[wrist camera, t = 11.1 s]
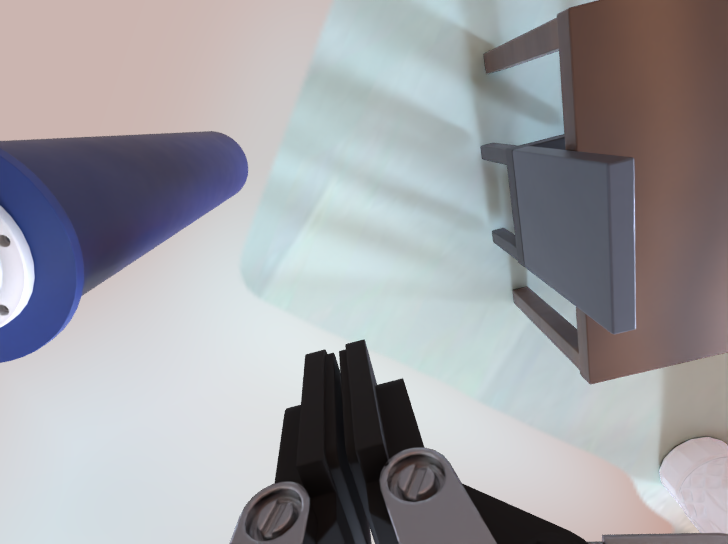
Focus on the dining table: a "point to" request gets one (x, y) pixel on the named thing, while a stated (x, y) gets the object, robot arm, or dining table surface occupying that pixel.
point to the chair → (574, 225)
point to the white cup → (699, 482)
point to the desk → (647, 169)
